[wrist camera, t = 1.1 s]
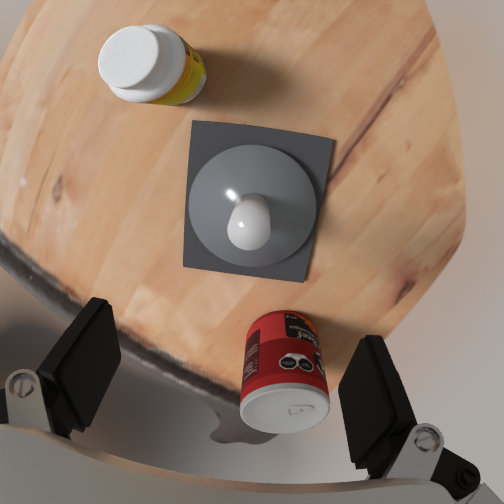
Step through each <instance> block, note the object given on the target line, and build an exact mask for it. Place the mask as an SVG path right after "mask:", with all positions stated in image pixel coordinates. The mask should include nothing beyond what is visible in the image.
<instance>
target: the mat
mask: <svg viewBox="0 0 504 504" xmlns="http://www.w3.org/2000/svg"><path fill="white" fill-rule="evenodd" d="M247 144H258V145H265V146H269V147H272V148H275V149H278V150H280V151H282V152H284V153H286V154H287V155H288V156H290V157H291V158H293V159H294V160H295V161H296V162H297V163H298V164H299V165H300V166H301V168H302V169H303V170H304V171H305V173H306V174H307V176H308V178H309V179H310V182H311V184H312V186H313V189H314V193H315V198H316V216H315V221H314V224H313V227H312V230H311V232H310V234H309V236H308V237H307V239H306V241H305V242H304V243H303V244H302V246H301V247H300V248H299V249H298V250H297V251H296V252H294V253H293V254H292V255H290V256H289V257H287V258H285V259H284V260H282V261H279V262H277V263H274V264H271V265H267V266H261V267H246V266H240V265H235V264H232V263H229V262H227V261H225V260H223V259H221V258H219V257H217V256H216V255H214V254H213V253H212V252H211V251H209V250H208V249H207V248H206V247H205V246H204V245H203V243H202V242H201V241H200V239H199V238H198V236H197V235H196V233H195V231H194V229H193V226H192V223H191V220H190V215H189V195H190V191H191V187H192V185H193V182H194V180H195V178H196V176H197V175H198V173H199V171H200V170H201V169H202V168H203V166H204V165H205V164H206V163H207V162H208V161H210V160H211V159H212V158H213V157H215V156H216V155H218V154H219V153H221V152H223V151H225V150H227V149H229V148H232V147H235V146H240V145H247ZM332 145H333V139H329V138H324V137H319V136H314V135H308V134H303V133H297V132H291V131H285V130H278V129H271V128H264V127H257V126H249V125H240V124H231V123H220V122H209V121H195V120H192V129H191V139H190V150H189V162H188V174H187V189H186V205H185V225H184V251H183V267H189V268H195V269H202V270H210V271H217V272H224V273H231V274H238V275H246V276H253V277H261V278H269V279H276V280H284V281H292V282H300V283H304V279H305V275H306V271H307V266H308V262H309V258H310V254H311V249H312V245H313V240H314V236H315V231H316V227H317V222H318V218H319V213H320V208H321V203H322V198H323V193H324V188H325V183H326V178H327V173H328V168H329V162H330V157H331V151H332Z"/></svg>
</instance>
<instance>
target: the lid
mask: <svg viewBox="0 0 504 504" xmlns="http://www.w3.org/2000/svg"><path fill="white" fill-rule="evenodd" d="M189 215H190V220H191V223H192V226H193V229H194V231H195V233H196V235H197V236H198V238H199V239H200V241H201V242H202V243H203V245H204V246H205V247H206V248H207V249H208V250H209V251H211V252H212V253H213V254H214V255H216V256H217V257H219V258H221V259H223V260H225V261H227V262H229V263H232V264H235V265H240V266H246V267H261V266H267V265H271V264H274V263H277V262H279V261H282V260H284V259H285V258H287V257H289V256H290V255H292V254H293V253H294V252H296V251H297V250H298V249H299V248H300V247H301V246H302V244H303V243H304V242H305V241H306V239H307V237H308V236H309V234H310V232H311V230H312V227H313V224H314V221H315V216H316V198H315V193H314V189H313V186H312V184H311V182H310V179H309V178H308V176H307V174H306V173H305V171H304V170H303V169H302V168H301V166H300V165H299V164H298V163H297V162H296V161H295V160H294V159H293V158H291V157H290V156H288V155H287V154H286V153H284V152H282V151H280V150H278V149H275V148H272V147H269V146H265V145H258V144H247V145H240V146H235V147H232V148H229V149H227V150H225V151H223V152H221V153H219V154H218V155H216V156H215V157H213V158H212V159H211V160H210V161H208V162H207V163H206V164H205V165H204V166H203V168H202V169H201V170H200V171H199V173H198V175H197V176H196V178H195V180H194V182H193V185H192V187H191V191H190V195H189Z"/></svg>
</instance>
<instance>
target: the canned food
mask: <svg viewBox="0 0 504 504" xmlns="http://www.w3.org/2000/svg"><path fill="white" fill-rule="evenodd" d="M329 411H330V399H329V392H328V386H327V381H326V376H325V370H324V365H323V360H322V355H321V350H320V345H319V340H318V335H317V331H316V329H315V327H314V325H313V324H312V323H311V321H310V320H309V319H308V318H306V317H305V316H303V315H302V314H299V313H297V312H292V311H275V312H271V313H268V314H265V315H263V316H262V317H260V318H258V319H257V320H256V321H255V322H254V323H253V325H252V326H251V327H250V329H249V331H248V333H247V337H246V347H245V358H244V368H243V379H242V389H241V402H240V414H241V418H242V419H243V421H244V422H245V423H246V424H247V425H249V426H251V427H252V428H254V429H257V430H260V431H264V432H268V433H293V432H299V431H302V430H306V429H309V428H311V427H313V426H315V425H317V424H319V423H320V422H321V421H322V420H324V419H325V418H326V416H327V415H328V413H329Z"/></svg>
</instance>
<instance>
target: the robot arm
mask: <svg viewBox="0 0 504 504" xmlns="http://www.w3.org/2000/svg"><path fill="white" fill-rule="evenodd" d="M120 361H121V352H120V347H119V342H118V337H117V332H116V327H115V321H114V316H113V310H112V306H111V305H110V304H109V303H108V301H107V300H105V299H101V298H96V297H92V298H91V299H90V301H89V302H88V303H87V304H86V306H85V307H84V308H83V309H82V311H81V312H80V313H79V314H78V316H77V317H76V318H75V320H74V321H73V322H72V323H71V325H70V326H69V327H68V328H67V330H66V331H65V332H64V333H63V335H62V336H61V337H60V339H59V340H58V341H57V343H56V344H55V346H54V347H53V348H52V350H51V351H50V352H49V354H48V355H47V357H46V358H45V360H44V361H43V363H42V364H41V365H40V367H39V368H38V370H37V371H36V373H34V372H33V371H31V370H27V369H23V370H18V371H15V372H14V373H12V374H11V375H10V376H9V377H8V379H7V381H6V384H5V388H4V389H1V390H0V504H504V503H503V502H502V501H501V500H500V499H499V498H498V496H497V495H496V494H495V493H494V492H493V491H492V490H491V489H490V488H489V487H488V486H487V485H486V484H485V483H482V484H480V480H481V479H480V473H479V470H478V469H477V467H476V466H475V465H473V464H472V463H470V462H469V461H467V460H465V459H463V458H461V457H460V456H458V455H456V454H454V453H453V452H451V451H449V450H448V449H446V448H444V447H443V445H444V440H443V436H442V434H441V432H440V431H439V429H438V428H436V427H435V426H433V425H431V424H428V423H422V424H417V421H416V418H415V415H414V413H413V410H412V407H411V405H410V402H409V399H408V397H407V394H406V391H405V389H404V386H403V384H402V381H401V379H400V376H399V374H398V372H397V370H396V368H395V366H394V364H393V361H392V359H391V356H390V354H389V352H388V349H387V347H386V344H385V342H384V340H383V338H382V336H380V335H366V336H365V338H362V339H361V340H360V341H359V344H358V346H357V348H356V350H355V352H354V354H353V357H352V359H351V361H350V363H349V365H348V367H347V369H346V371H345V373H344V375H343V377H342V379H341V381H340V383H339V388H338V393H339V398H340V403H341V408H342V413H343V419H344V424H345V430H346V435H347V441H348V446H349V452H350V458H351V462H352V463H355V466H356V469H366V468H367V470H368V474H369V475H368V476H367V478H366V479H365V480H362V481H351V482H339V483H319V484H271V483H253V482H241V481H231V480H222V479H215V478H208V477H201V476H195V475H189V474H184V473H179V472H174V471H169V470H165V469H160V468H156V467H152V466H148V465H144V464H140V463H137V462H133V461H130V460H126V459H123V458H120V457H116V456H113V455H110V454H107V453H104V452H101V451H98V450H95V449H93V448H90V447H87V446H84V445H82V444H79V443H76V442H73V441H72V440H71V437H70V433H71V431H72V429H75V430H77V431H80V432H82V433H83V432H84V430H85V428H86V427H89V426H90V425H91V423H92V420H93V418H94V416H95V414H96V412H97V410H98V407H99V405H100V403H101V401H102V399H103V397H104V395H105V392H106V390H107V388H108V386H109V384H110V382H111V380H112V378H113V376H114V374H115V372H116V370H117V368H118V366H119V364H120Z"/></svg>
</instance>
